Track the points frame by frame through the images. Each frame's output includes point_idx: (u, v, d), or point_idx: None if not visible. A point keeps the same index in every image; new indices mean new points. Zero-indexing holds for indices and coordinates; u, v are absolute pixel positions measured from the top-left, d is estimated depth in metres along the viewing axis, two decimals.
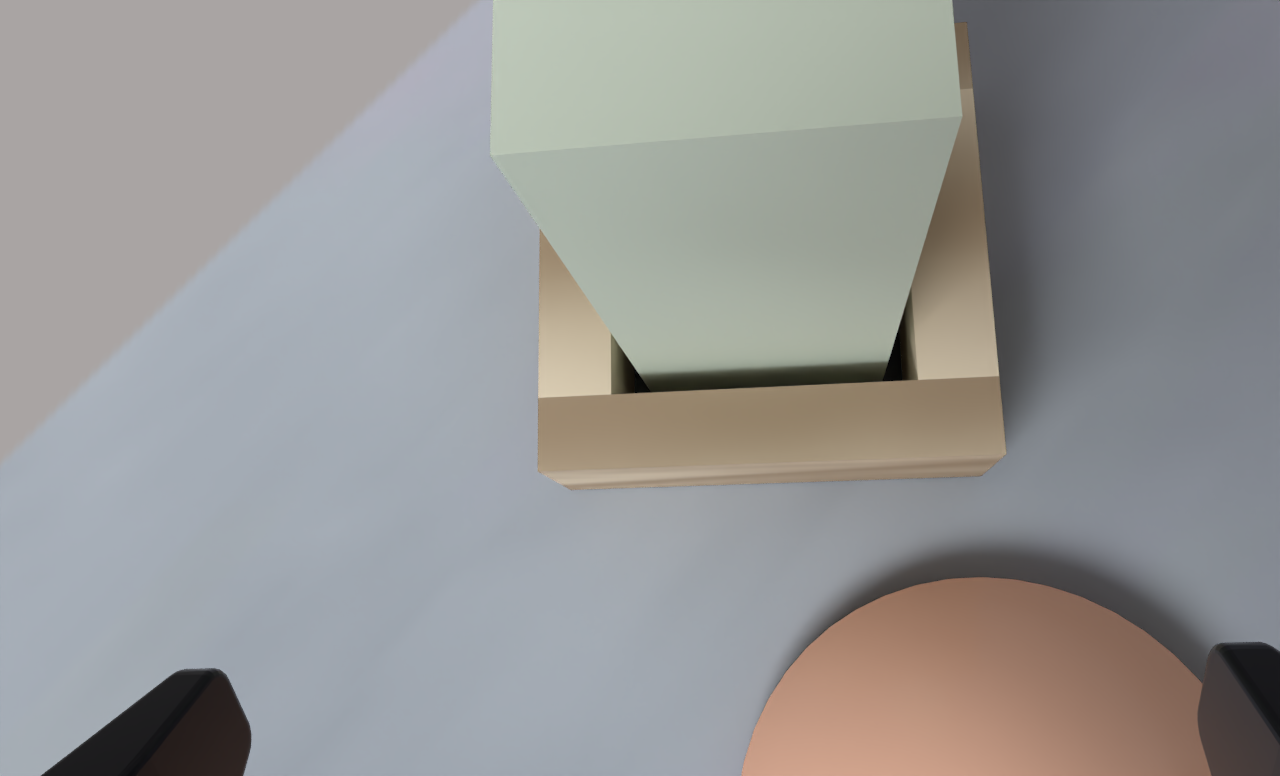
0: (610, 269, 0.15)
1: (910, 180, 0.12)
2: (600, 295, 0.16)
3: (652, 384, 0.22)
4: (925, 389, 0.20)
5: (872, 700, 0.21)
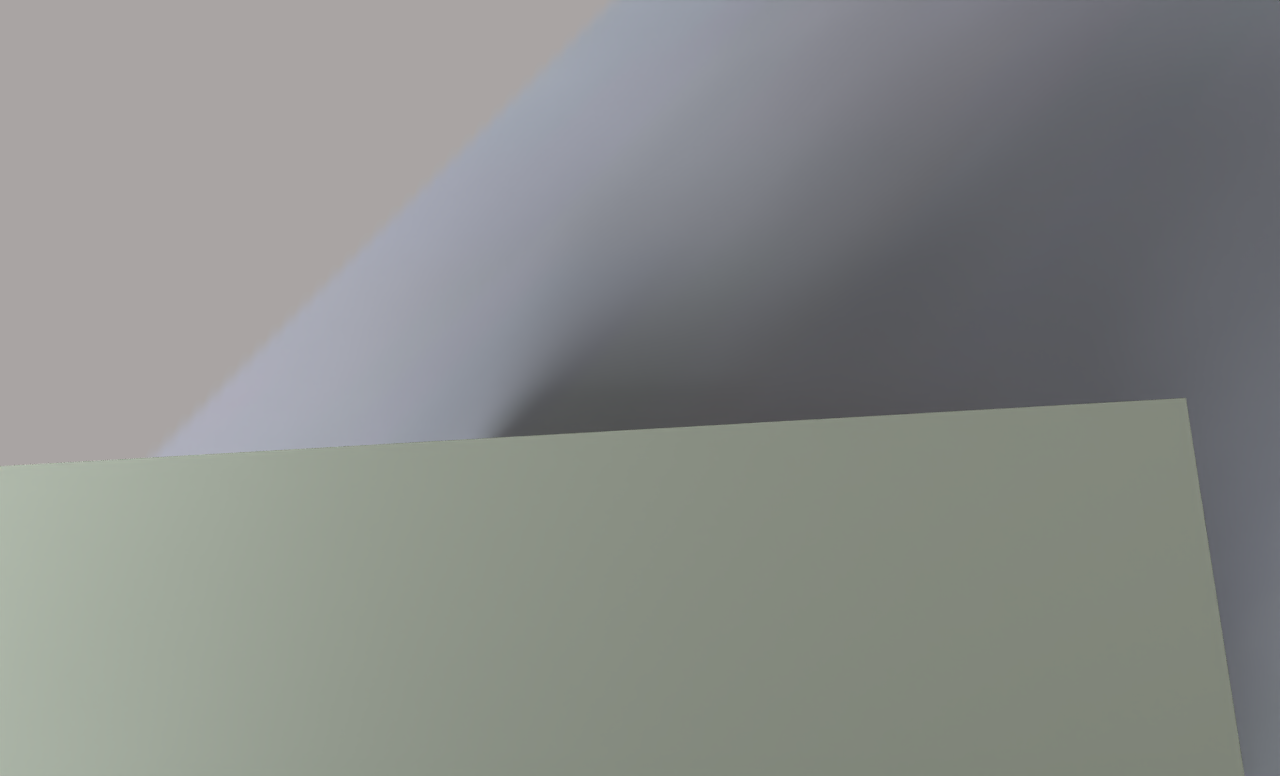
0: None
1: None
2: None
3: None
4: None
5: None
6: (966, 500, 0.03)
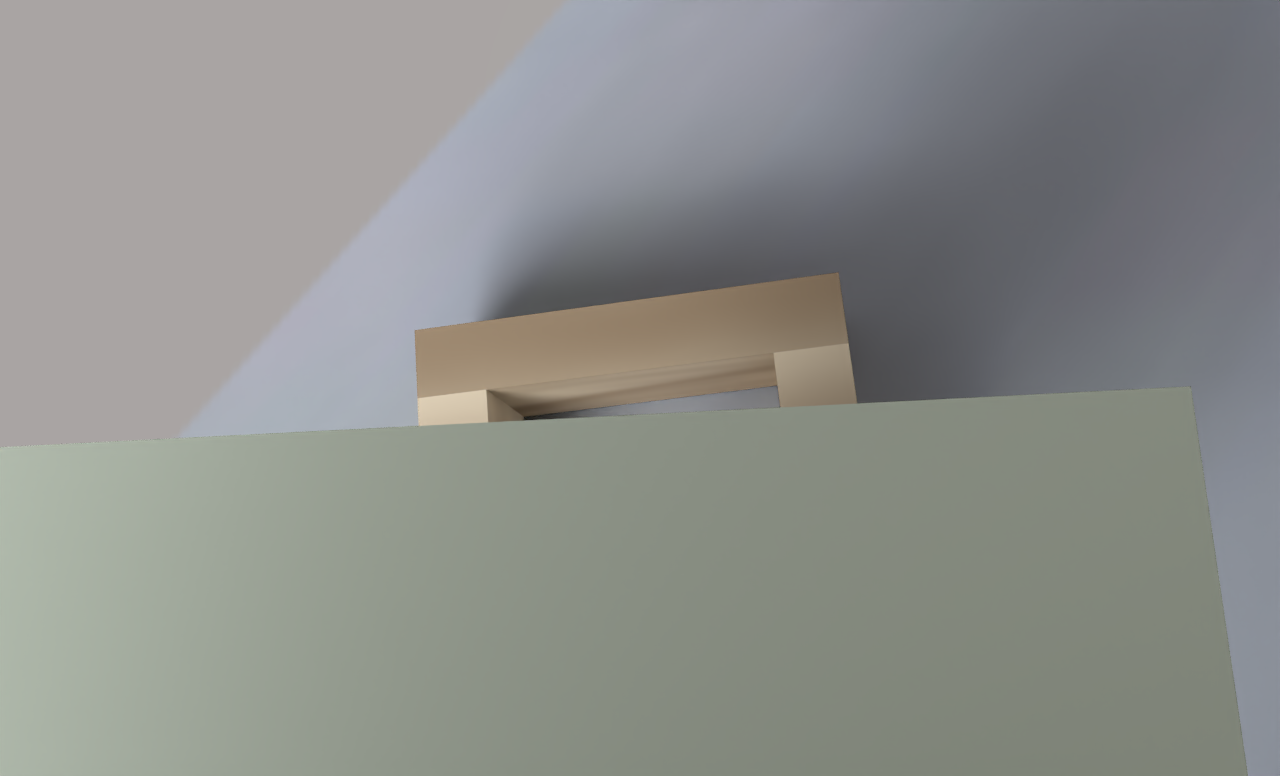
0: None
1: None
2: None
3: None
4: None
5: None
6: (975, 486, 0.04)
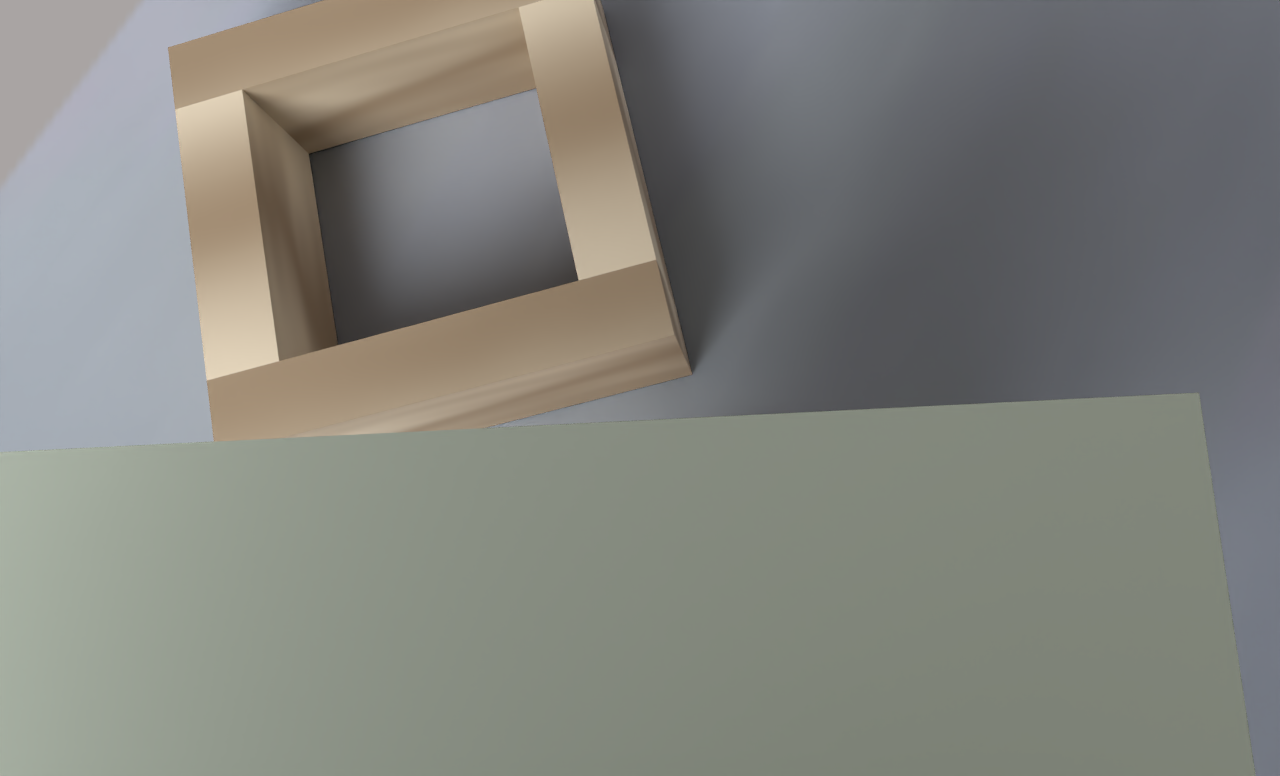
0: None
1: None
2: None
3: None
4: (587, 288, 0.19)
5: None
6: (979, 494, 0.03)
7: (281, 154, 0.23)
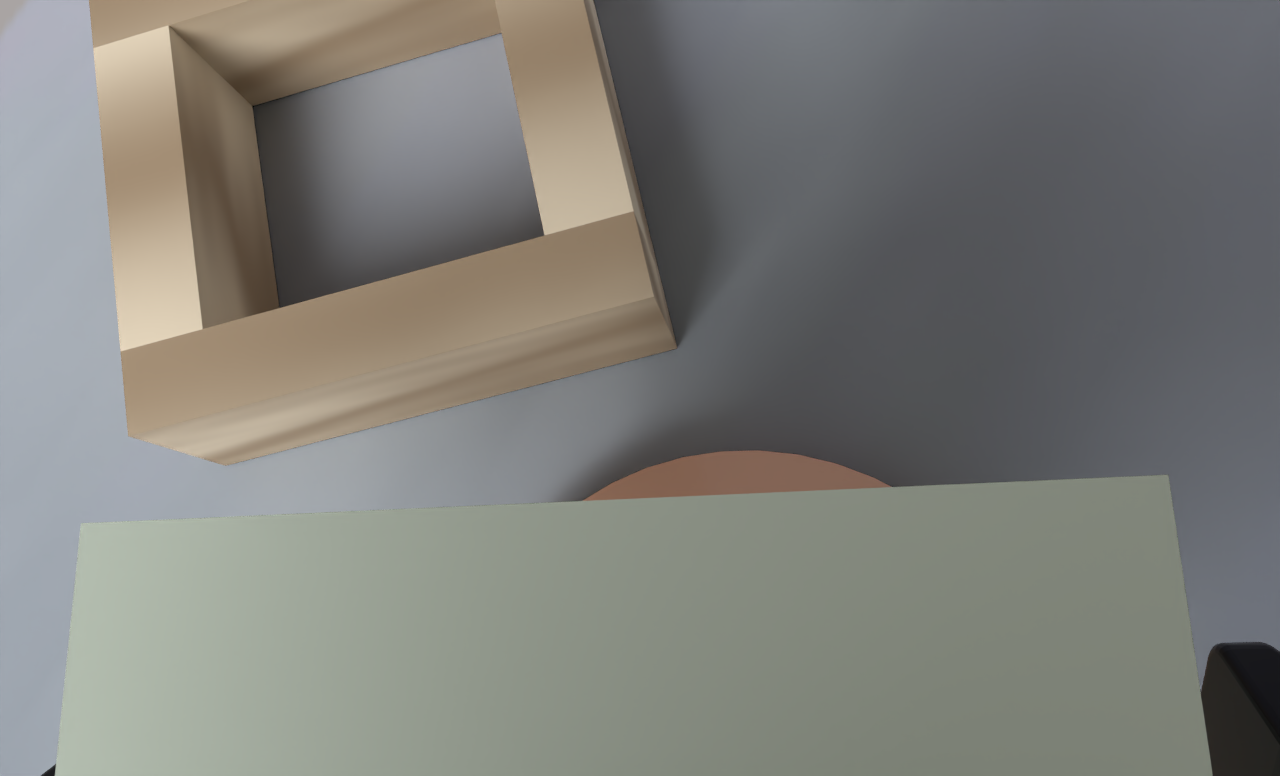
0: None
1: None
2: None
3: None
4: (553, 244, 0.17)
5: None
6: (1000, 552, 0.04)
7: (216, 102, 0.20)
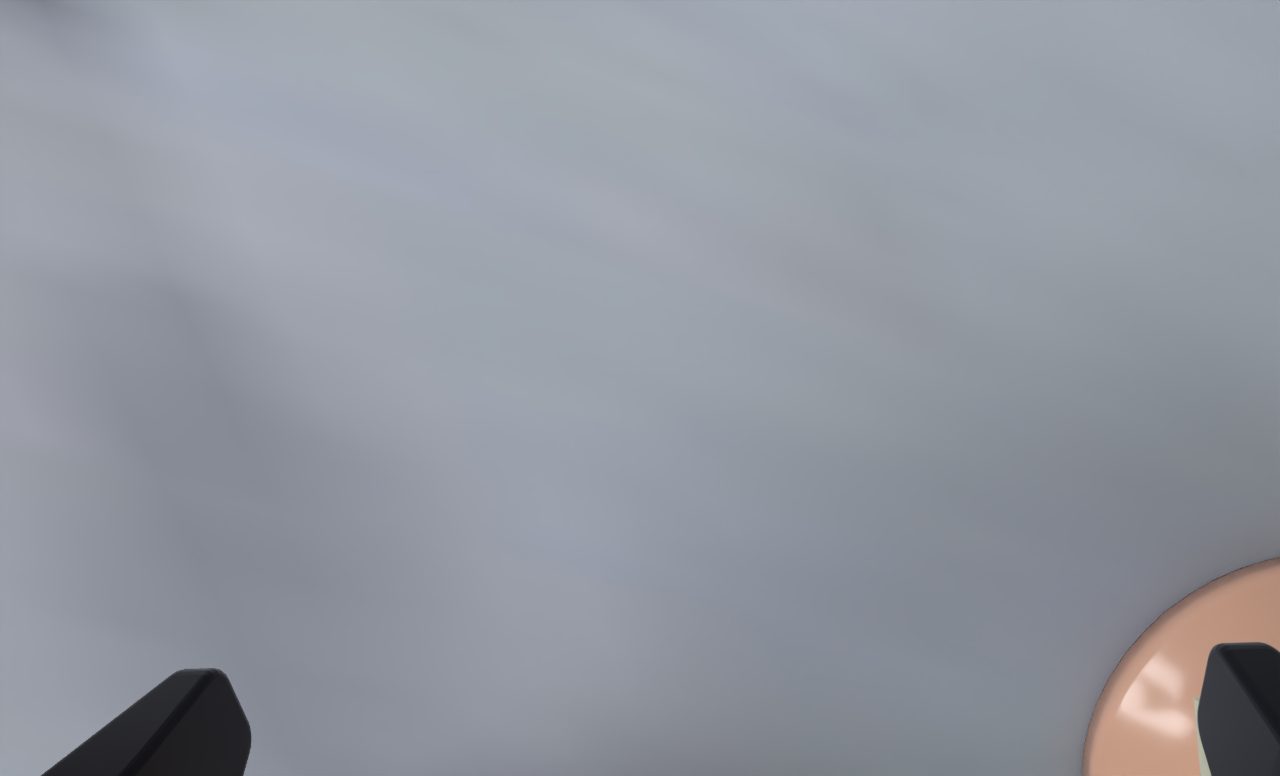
0: None
1: None
2: None
3: None
4: None
5: None
6: None
7: None
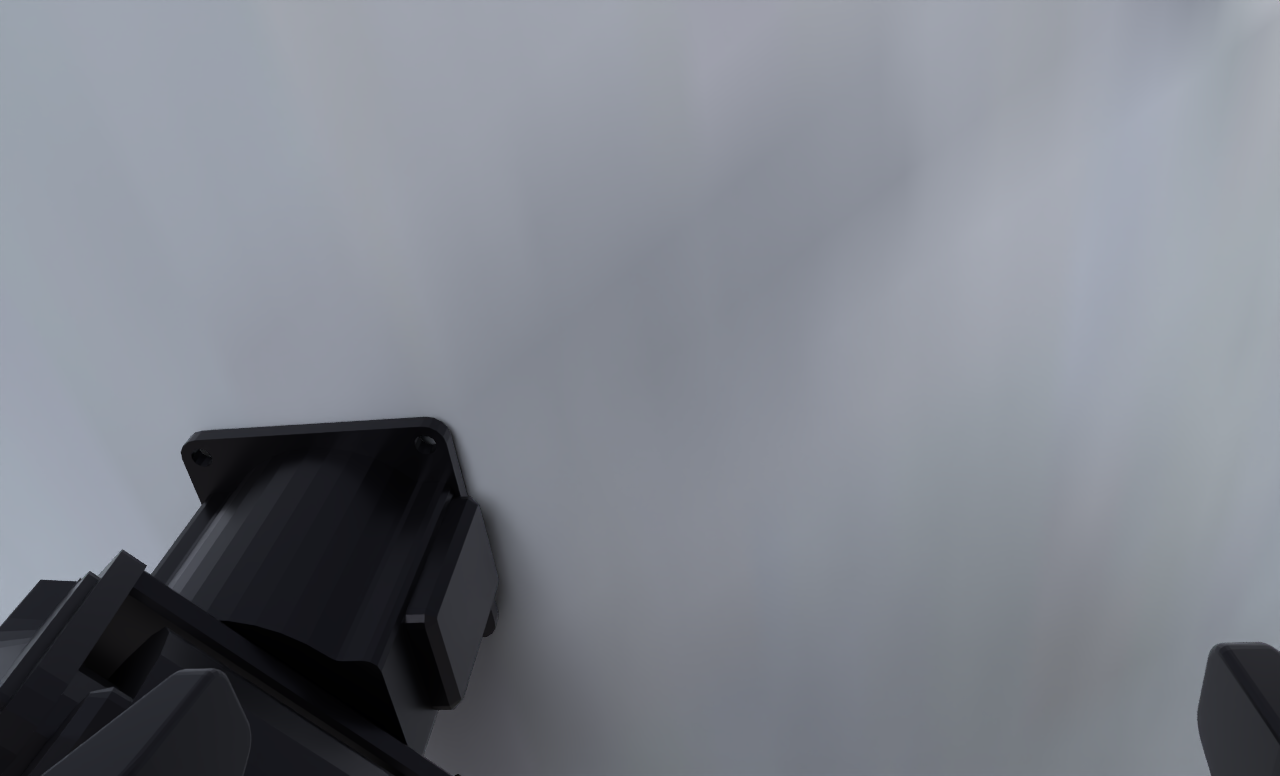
0: None
1: None
2: None
3: None
4: None
5: None
6: None
7: None
